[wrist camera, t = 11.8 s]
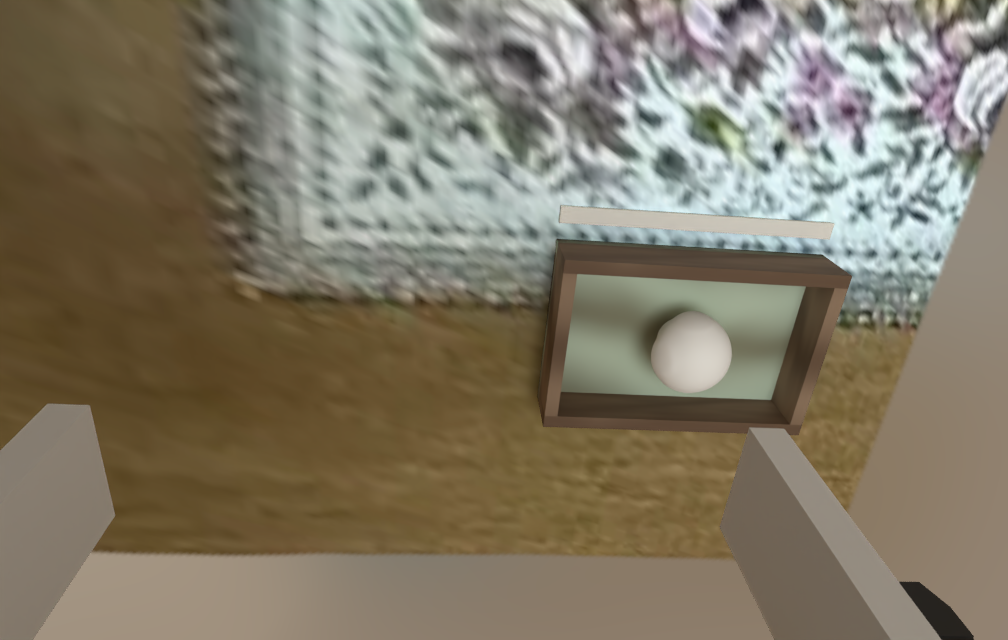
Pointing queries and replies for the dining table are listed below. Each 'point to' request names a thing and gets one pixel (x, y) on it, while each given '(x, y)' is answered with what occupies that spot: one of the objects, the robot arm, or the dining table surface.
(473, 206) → the dining table surface
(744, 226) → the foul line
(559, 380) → the brown wooden tray
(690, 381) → the cream egg
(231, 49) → the dining table surface
